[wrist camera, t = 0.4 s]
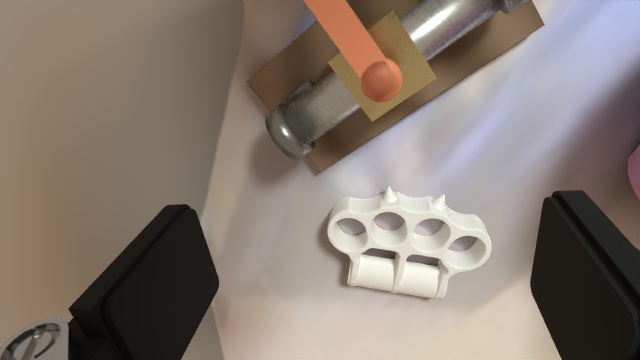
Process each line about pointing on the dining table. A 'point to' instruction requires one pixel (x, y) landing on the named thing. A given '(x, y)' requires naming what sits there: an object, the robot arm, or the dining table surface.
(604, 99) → the dining table surface
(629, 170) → the flower arrangement
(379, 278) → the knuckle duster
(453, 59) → the valve board
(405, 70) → the water pipe
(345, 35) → the lever
